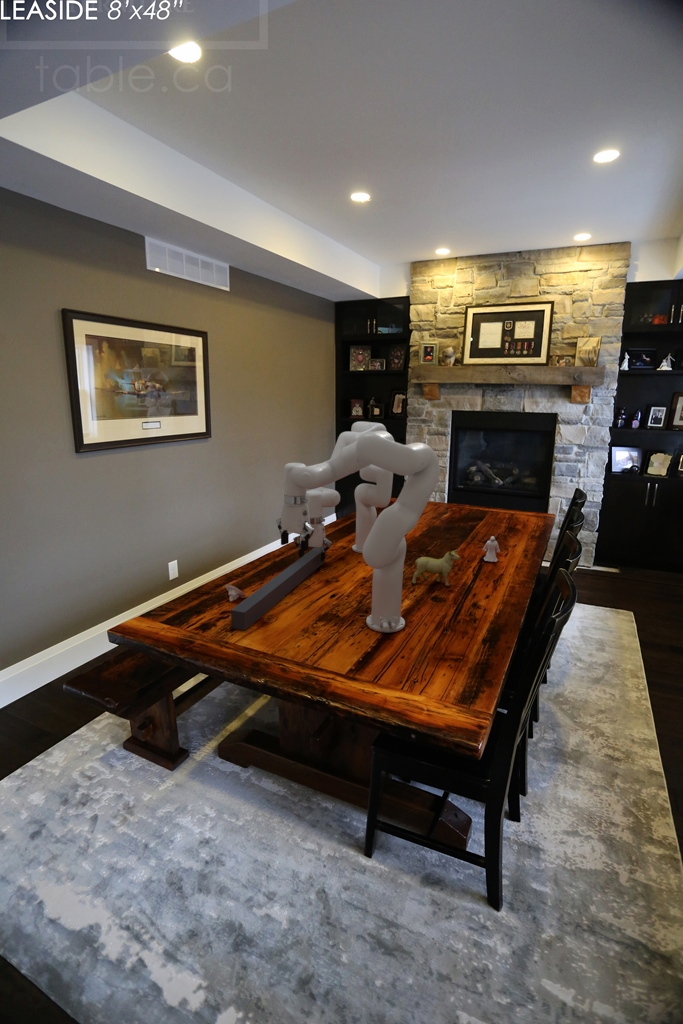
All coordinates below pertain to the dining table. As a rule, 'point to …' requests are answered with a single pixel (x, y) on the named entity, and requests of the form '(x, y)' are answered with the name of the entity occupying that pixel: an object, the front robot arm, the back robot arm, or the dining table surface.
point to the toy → (435, 566)
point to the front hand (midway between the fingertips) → (294, 547)
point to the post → (274, 590)
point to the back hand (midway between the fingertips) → (312, 559)
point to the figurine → (491, 550)
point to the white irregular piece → (234, 592)
